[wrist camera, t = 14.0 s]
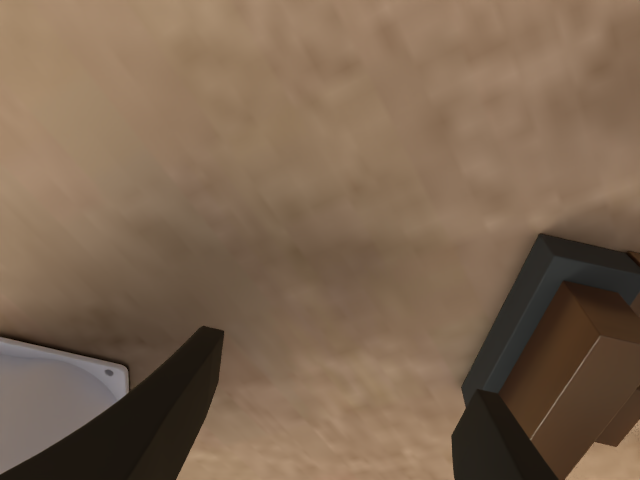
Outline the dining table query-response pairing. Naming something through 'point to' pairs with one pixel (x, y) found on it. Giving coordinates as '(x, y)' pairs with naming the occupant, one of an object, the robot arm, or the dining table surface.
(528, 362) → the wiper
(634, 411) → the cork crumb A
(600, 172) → the dining table surface
